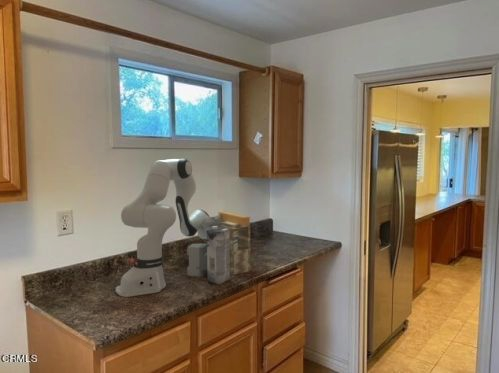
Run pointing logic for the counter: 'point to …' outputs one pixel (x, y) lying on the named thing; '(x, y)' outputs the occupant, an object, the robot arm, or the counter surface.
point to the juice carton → (218, 255)
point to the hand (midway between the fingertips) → (225, 215)
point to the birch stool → (239, 248)
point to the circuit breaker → (197, 260)
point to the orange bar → (235, 218)
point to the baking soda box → (235, 239)
